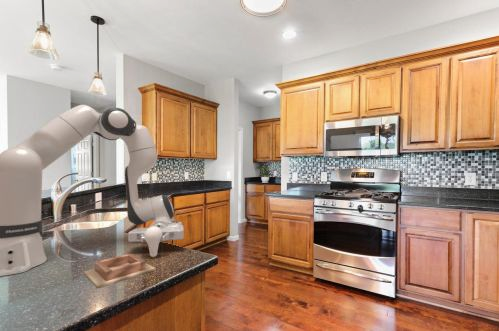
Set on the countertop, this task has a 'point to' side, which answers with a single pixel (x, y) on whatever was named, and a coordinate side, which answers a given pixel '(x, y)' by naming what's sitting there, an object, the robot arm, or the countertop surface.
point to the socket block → (117, 270)
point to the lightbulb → (153, 239)
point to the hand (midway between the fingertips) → (152, 239)
